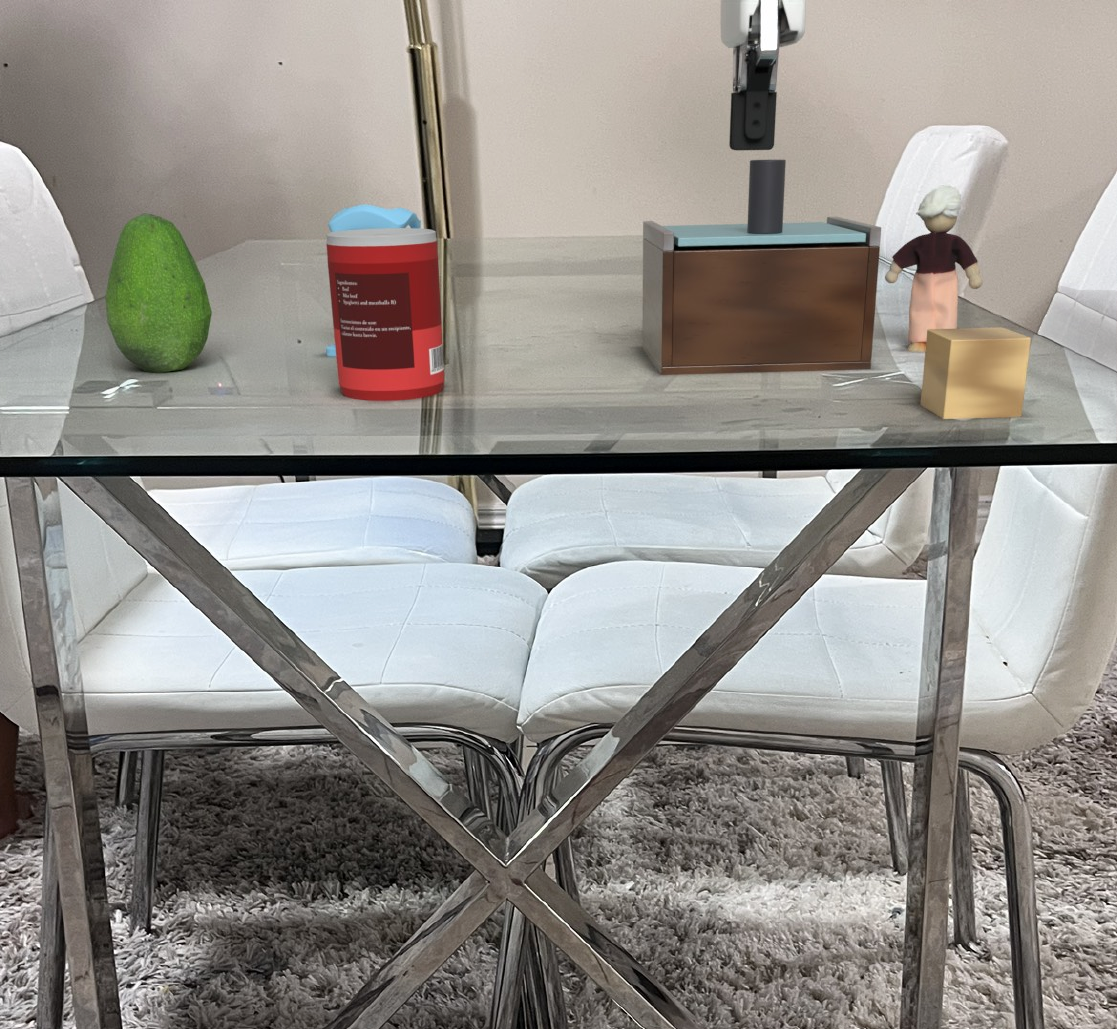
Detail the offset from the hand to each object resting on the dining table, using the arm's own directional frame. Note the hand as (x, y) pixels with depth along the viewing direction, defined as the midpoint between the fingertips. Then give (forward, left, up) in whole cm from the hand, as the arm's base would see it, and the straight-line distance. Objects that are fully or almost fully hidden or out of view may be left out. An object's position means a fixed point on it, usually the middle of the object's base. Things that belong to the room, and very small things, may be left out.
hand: (751, 149), depth 103 cm
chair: (+30, -8, -16) cm, 35 cm away
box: (0, +2, -16) cm, 16 cm away
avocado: (+47, 0, -16) cm, 49 cm away
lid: (0, +2, -6) cm, 7 cm away
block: (-10, +26, -16) cm, 32 cm away
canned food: (+28, +13, -16) cm, 35 cm away
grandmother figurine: (-15, 0, -16) cm, 22 cm away
